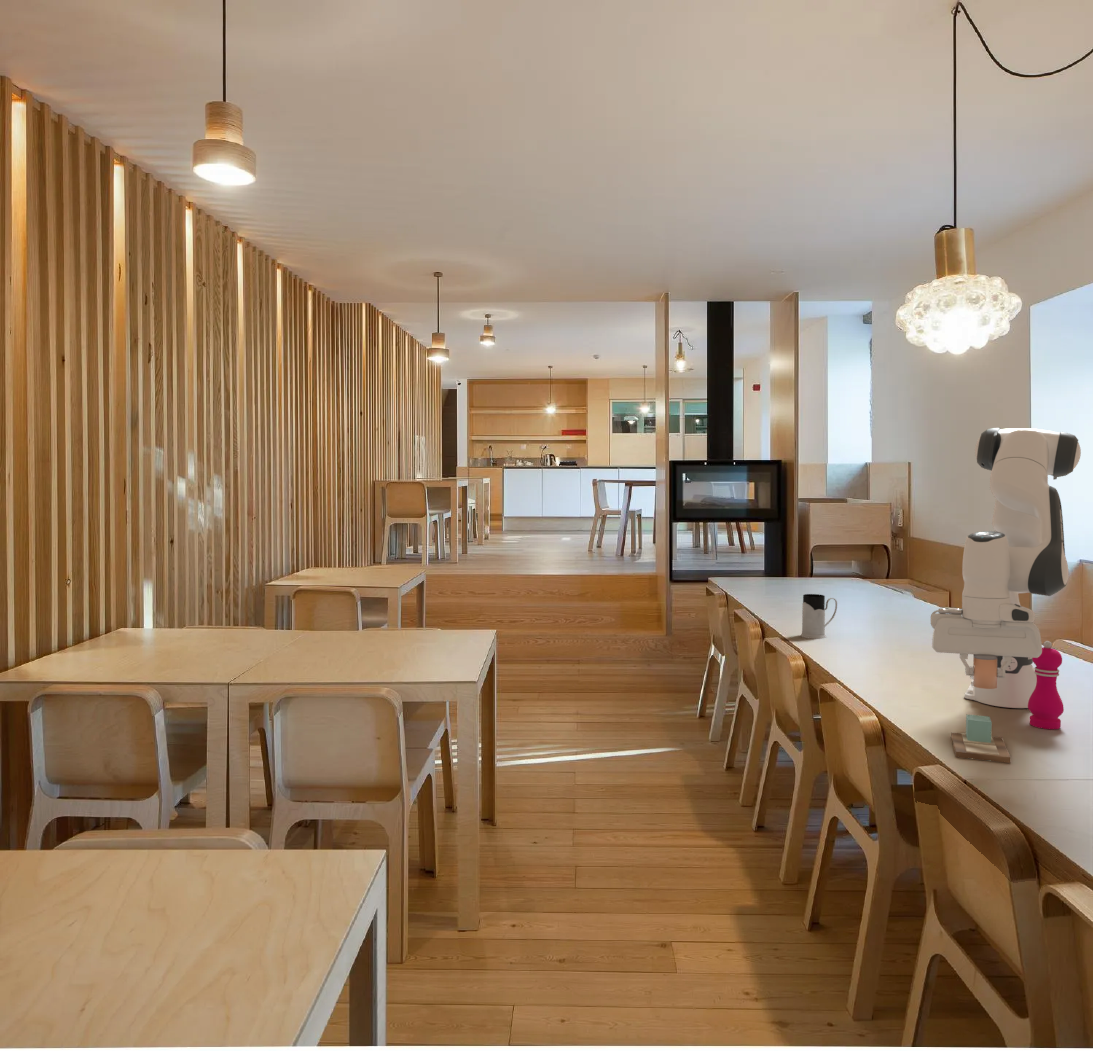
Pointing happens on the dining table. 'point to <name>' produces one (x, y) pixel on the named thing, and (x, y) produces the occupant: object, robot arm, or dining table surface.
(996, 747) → the board
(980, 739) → the teal block
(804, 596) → the glass holder
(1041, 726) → the pepper mill
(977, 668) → the peach upright cylinder
